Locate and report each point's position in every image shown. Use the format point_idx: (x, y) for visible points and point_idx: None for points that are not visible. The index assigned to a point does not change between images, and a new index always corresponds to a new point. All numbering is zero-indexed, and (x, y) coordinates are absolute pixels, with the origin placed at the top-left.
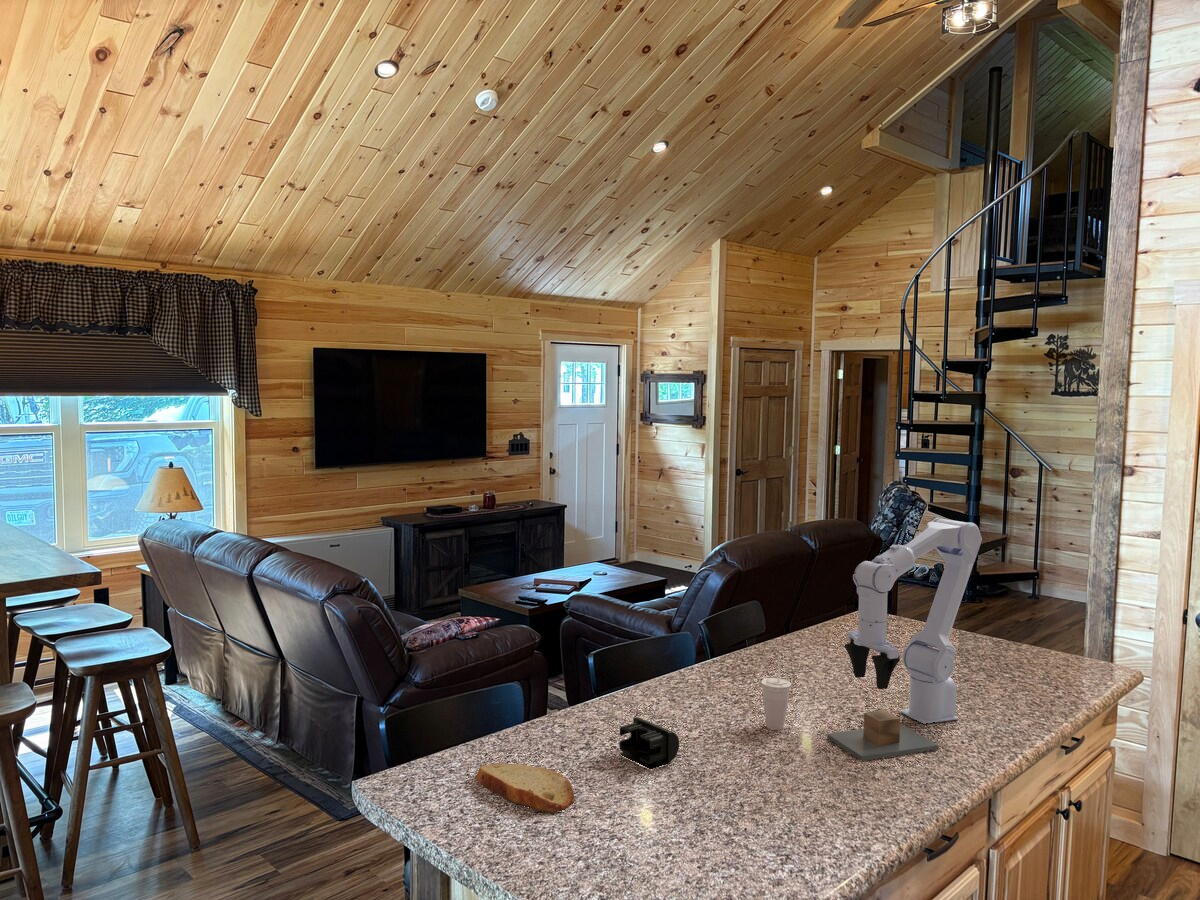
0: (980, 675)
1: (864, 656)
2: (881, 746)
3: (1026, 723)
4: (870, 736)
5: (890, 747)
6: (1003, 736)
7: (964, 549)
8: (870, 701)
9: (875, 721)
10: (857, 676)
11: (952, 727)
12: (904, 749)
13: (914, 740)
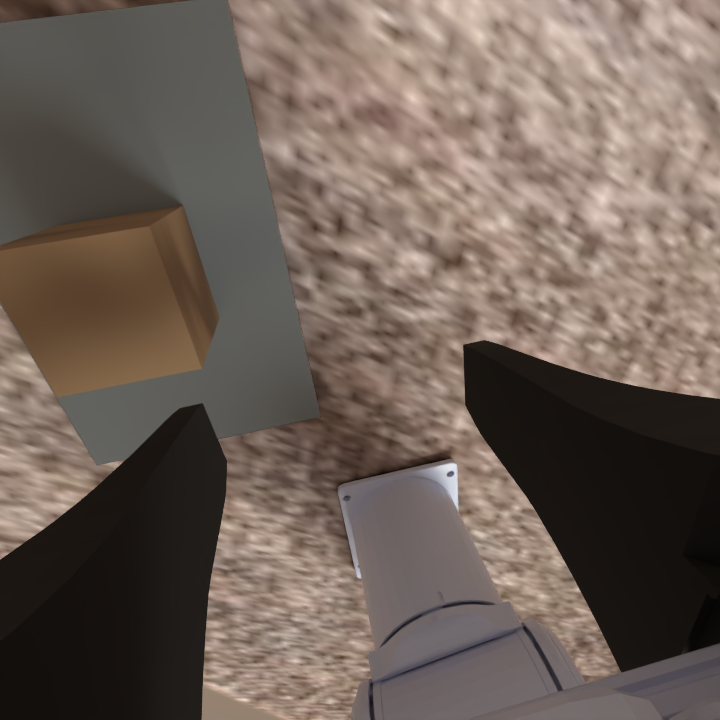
0: (592, 668)
1: (563, 525)
2: None
3: (310, 676)
4: (116, 218)
5: None
6: (228, 625)
7: None
8: None
9: (22, 244)
10: (468, 356)
11: (306, 544)
12: None
13: (141, 404)
